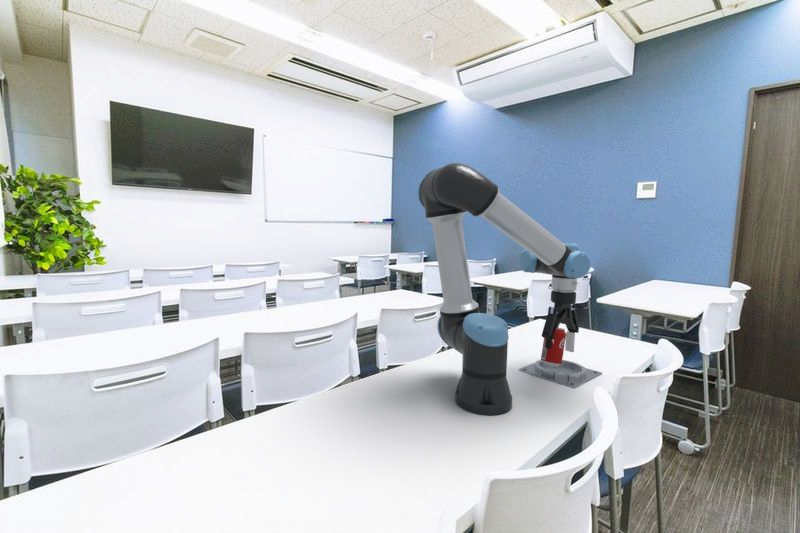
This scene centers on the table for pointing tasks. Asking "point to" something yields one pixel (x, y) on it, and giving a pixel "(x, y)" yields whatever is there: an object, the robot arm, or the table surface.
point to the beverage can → (554, 349)
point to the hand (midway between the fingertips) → (559, 354)
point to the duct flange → (562, 373)
